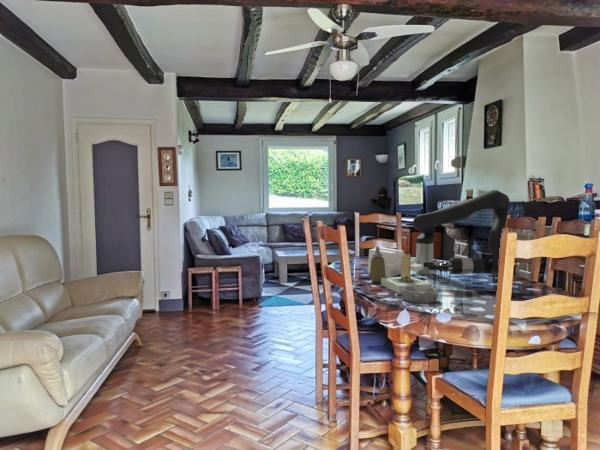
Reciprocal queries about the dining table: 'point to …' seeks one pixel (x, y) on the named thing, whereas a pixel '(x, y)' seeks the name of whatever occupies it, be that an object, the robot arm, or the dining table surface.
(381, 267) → the squeeze bottle
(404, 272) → the tan rectangular block
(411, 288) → the dish
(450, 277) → the dining table surface
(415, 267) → the blocky voxel creature
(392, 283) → the tray
